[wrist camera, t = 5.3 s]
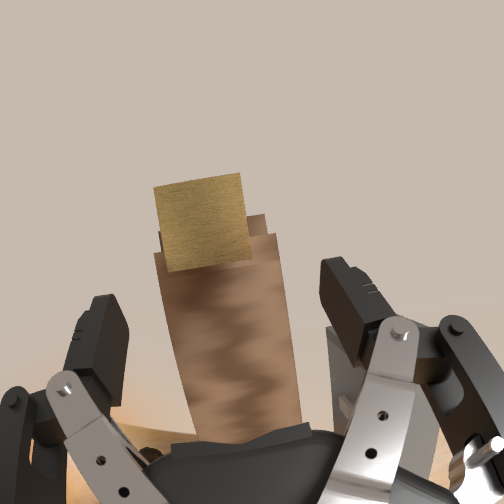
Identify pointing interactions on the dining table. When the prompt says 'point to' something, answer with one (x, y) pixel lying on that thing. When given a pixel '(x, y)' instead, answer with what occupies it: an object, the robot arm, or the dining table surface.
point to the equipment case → (345, 396)
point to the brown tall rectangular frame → (233, 342)
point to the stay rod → (203, 222)
